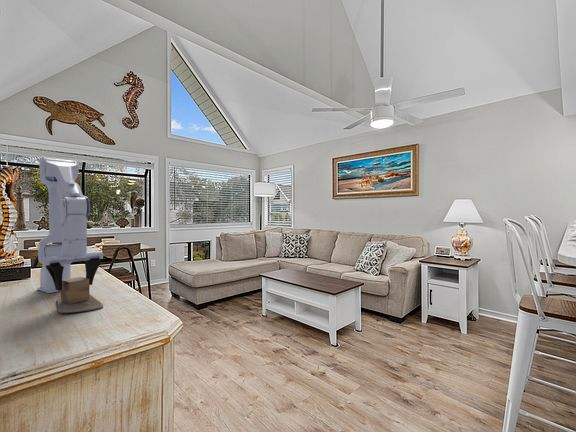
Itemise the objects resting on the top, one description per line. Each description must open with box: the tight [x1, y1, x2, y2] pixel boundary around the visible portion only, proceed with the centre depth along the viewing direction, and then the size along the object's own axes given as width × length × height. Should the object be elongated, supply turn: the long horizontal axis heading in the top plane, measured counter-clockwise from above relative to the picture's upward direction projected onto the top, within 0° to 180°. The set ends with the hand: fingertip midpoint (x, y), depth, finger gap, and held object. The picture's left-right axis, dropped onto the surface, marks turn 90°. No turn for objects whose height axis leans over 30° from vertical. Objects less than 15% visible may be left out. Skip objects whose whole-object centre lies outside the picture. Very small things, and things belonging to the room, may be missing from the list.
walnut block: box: [60, 276, 90, 304], centre depth 86 cm, size 5×5×6 cm
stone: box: [57, 293, 104, 314], centre depth 87 cm, size 18×3×10 cm
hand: (74, 287), depth 86 cm, fingers open, 7 cm apart
